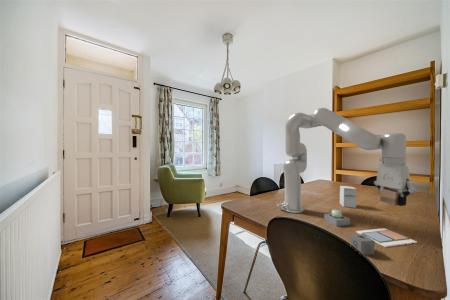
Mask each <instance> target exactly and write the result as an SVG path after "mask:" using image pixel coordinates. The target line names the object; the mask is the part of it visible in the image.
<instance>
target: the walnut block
mask: <svg viewBox="0 0 450 300" xmlns="http://www.w3.org/2000/svg"><path fill="white" fill-rule="evenodd" d="M398 196H400V194H399V192H398V190H397V189H392V188H386V189H381V192H380V199H379V200H380V202H382V203H386V204H389V205H391V206H395V207H396V206H399V205H398Z"/></svg>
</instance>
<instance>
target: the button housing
mask: <svg viewBox="0 0 450 300" xmlns="http://www.w3.org/2000/svg"><path fill="white" fill-rule="evenodd" d="M323 219H324V221H326V222H328V223H330V224H331V225H334V226H335V227H343V226H350V225H351V218H348V217H346V216H344V215H342V218H341V219H336V218H334V217H332V213H324V214H323Z"/></svg>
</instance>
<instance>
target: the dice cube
mask: <svg viewBox="0 0 450 300" xmlns="http://www.w3.org/2000/svg"><path fill="white" fill-rule="evenodd" d="M375 243H376V242H375V241H374V240H372V239H370V238H369V237H367V236H365V235H364V234H359V233H355V234H353V233H352V234H350V245H351V244H352V245H354V246H355V247H356V248H357V249H359V250H360V251H361V252H362V253H363V254H365V255H375V247H376V246H375Z"/></svg>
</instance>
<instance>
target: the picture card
mask: <svg viewBox="0 0 450 300" xmlns="http://www.w3.org/2000/svg"><path fill="white" fill-rule="evenodd" d="M355 232H356V234H364V235H365V236H367V237H369V238H370V239H372V240H374V241H375V243H376V244H378V245H380V246H382V247H384V248H389V247H398V245H399V246H403V245H404V246H405V244H406V245H412V243H414V244H418V241H417V240H414V239H411V238H410V237H408V236H405V235H402V234H400V233H399V232H396V231H393V230H391V229H388V228H385V227H384V228H383V227H382V228H374V229H373V228H372V229H364V230H356V231H355Z"/></svg>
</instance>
